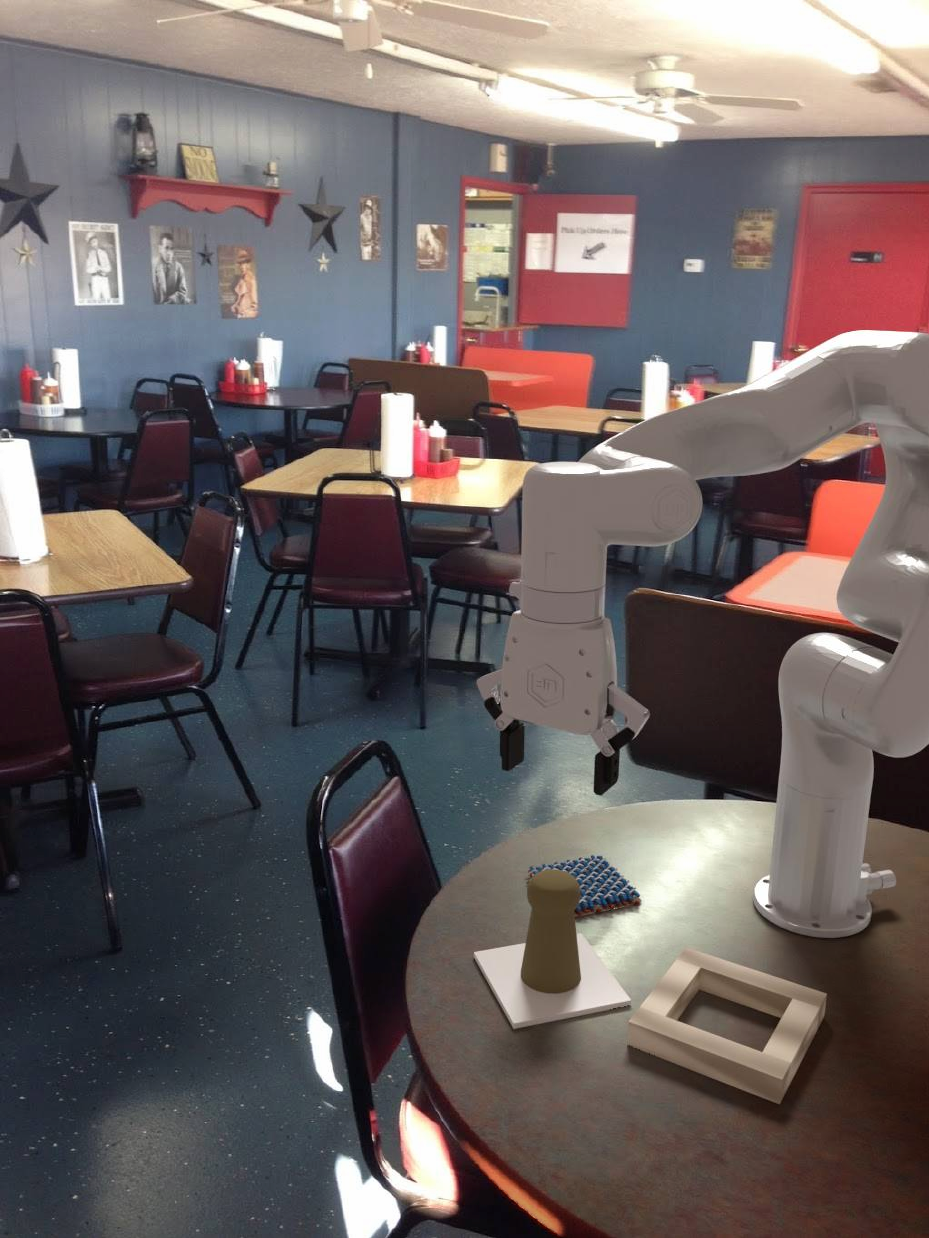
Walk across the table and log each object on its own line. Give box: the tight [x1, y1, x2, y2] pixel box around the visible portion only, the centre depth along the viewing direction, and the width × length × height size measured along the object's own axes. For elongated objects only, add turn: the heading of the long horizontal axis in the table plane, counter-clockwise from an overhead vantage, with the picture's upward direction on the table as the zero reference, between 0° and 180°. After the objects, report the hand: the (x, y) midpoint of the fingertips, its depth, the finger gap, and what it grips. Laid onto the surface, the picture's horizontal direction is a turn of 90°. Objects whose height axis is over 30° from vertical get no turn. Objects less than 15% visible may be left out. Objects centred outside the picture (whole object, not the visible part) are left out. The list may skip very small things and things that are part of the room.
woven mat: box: [524, 854, 643, 918], centre depth 124 cm, size 10×11×2 cm
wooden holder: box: [626, 947, 828, 1105], centre depth 100 cm, size 14×14×2 cm
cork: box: [521, 869, 581, 994], centre depth 106 cm, size 6×6×11 cm
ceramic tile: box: [473, 932, 632, 1030], centre depth 108 cm, size 12×12×1 cm
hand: (557, 777), depth 102 cm, fingers open, 9 cm apart
